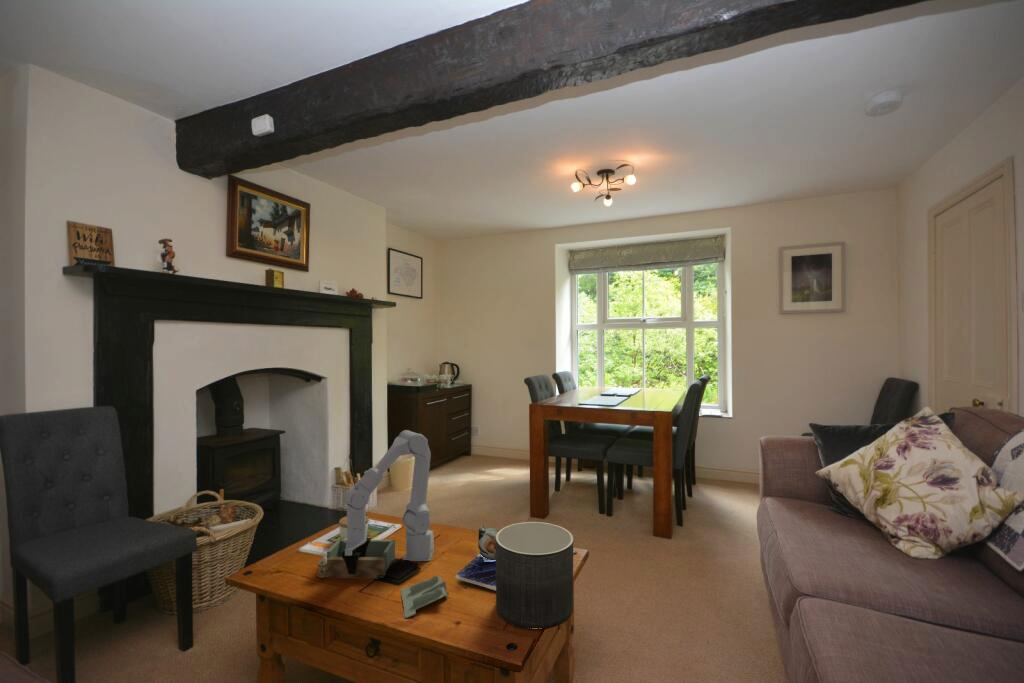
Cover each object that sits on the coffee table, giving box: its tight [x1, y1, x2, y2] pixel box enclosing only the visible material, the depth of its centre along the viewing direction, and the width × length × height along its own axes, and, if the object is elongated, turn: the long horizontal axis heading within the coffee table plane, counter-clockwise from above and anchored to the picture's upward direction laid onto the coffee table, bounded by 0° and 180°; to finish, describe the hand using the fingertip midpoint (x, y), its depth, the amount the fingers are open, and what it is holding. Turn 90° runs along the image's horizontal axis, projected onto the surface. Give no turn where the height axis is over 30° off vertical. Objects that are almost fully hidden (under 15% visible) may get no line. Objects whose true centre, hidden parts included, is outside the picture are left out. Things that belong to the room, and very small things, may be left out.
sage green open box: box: [322, 538, 396, 573], centre depth 156 cm, size 20×13×6 cm, turn 89°
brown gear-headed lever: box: [316, 557, 386, 579], centre depth 150 cm, size 22×4×6 cm, turn 88°
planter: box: [495, 521, 574, 630], centre depth 133 cm, size 22×22×20 cm
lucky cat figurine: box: [477, 525, 499, 560], centre depth 161 cm, size 15×12×14 cm
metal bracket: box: [400, 575, 450, 619], centre depth 137 cm, size 14×6×15 cm
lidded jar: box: [338, 515, 370, 539], centre depth 178 cm, size 11×11×9 cm
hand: (356, 567), depth 150 cm, fingers open, 7 cm apart
